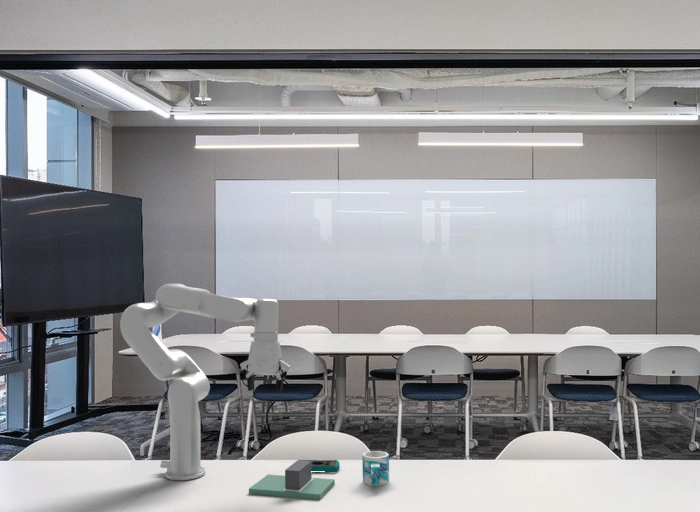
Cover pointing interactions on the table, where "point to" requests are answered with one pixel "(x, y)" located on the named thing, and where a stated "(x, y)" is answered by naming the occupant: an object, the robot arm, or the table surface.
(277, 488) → the header board
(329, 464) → the digital multimeter
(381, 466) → the mug
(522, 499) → the table surface
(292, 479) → the block
